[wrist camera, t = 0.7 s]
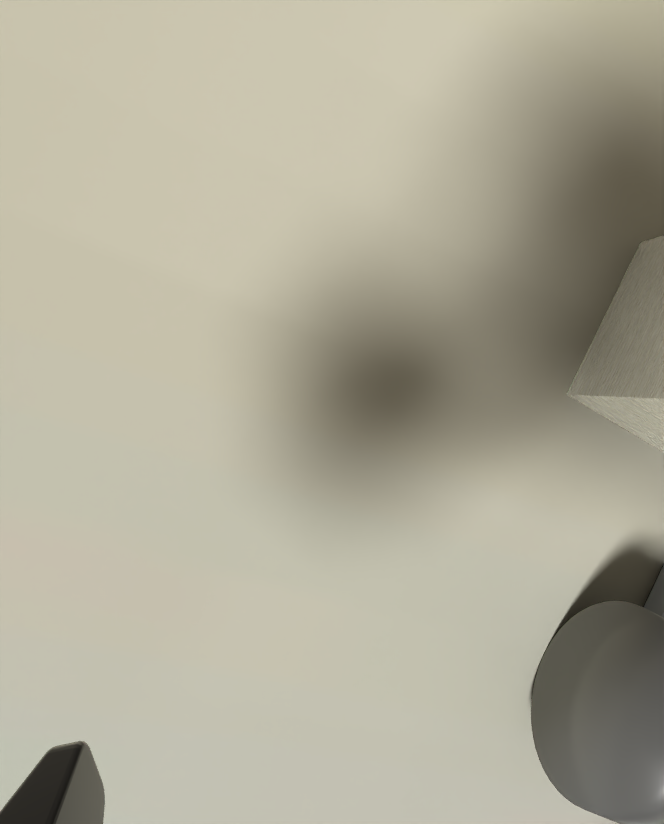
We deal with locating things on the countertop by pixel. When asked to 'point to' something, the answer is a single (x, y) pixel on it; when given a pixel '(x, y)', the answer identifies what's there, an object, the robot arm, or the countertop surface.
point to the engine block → (630, 352)
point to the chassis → (606, 709)
